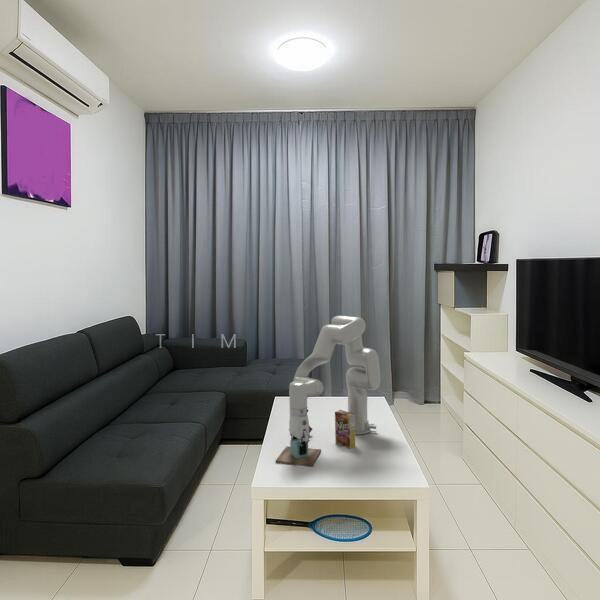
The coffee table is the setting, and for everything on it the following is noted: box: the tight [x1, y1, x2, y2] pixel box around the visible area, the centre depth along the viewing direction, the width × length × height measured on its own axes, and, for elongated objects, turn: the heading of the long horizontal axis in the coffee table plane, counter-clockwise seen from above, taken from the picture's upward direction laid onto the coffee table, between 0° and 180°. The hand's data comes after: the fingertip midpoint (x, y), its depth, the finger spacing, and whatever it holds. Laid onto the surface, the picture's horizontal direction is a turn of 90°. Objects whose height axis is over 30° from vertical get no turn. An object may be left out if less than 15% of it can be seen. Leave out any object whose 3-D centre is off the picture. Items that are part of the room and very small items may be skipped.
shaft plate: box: [274, 445, 322, 468], centre depth 197 cm, size 16×16×4 cm
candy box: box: [334, 409, 356, 449], centre depth 210 cm, size 9×4×15 cm, turn 45°
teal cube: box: [289, 439, 309, 458], centre depth 197 cm, size 6×6×6 cm
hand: (299, 451), depth 197 cm, fingers open, 6 cm apart
